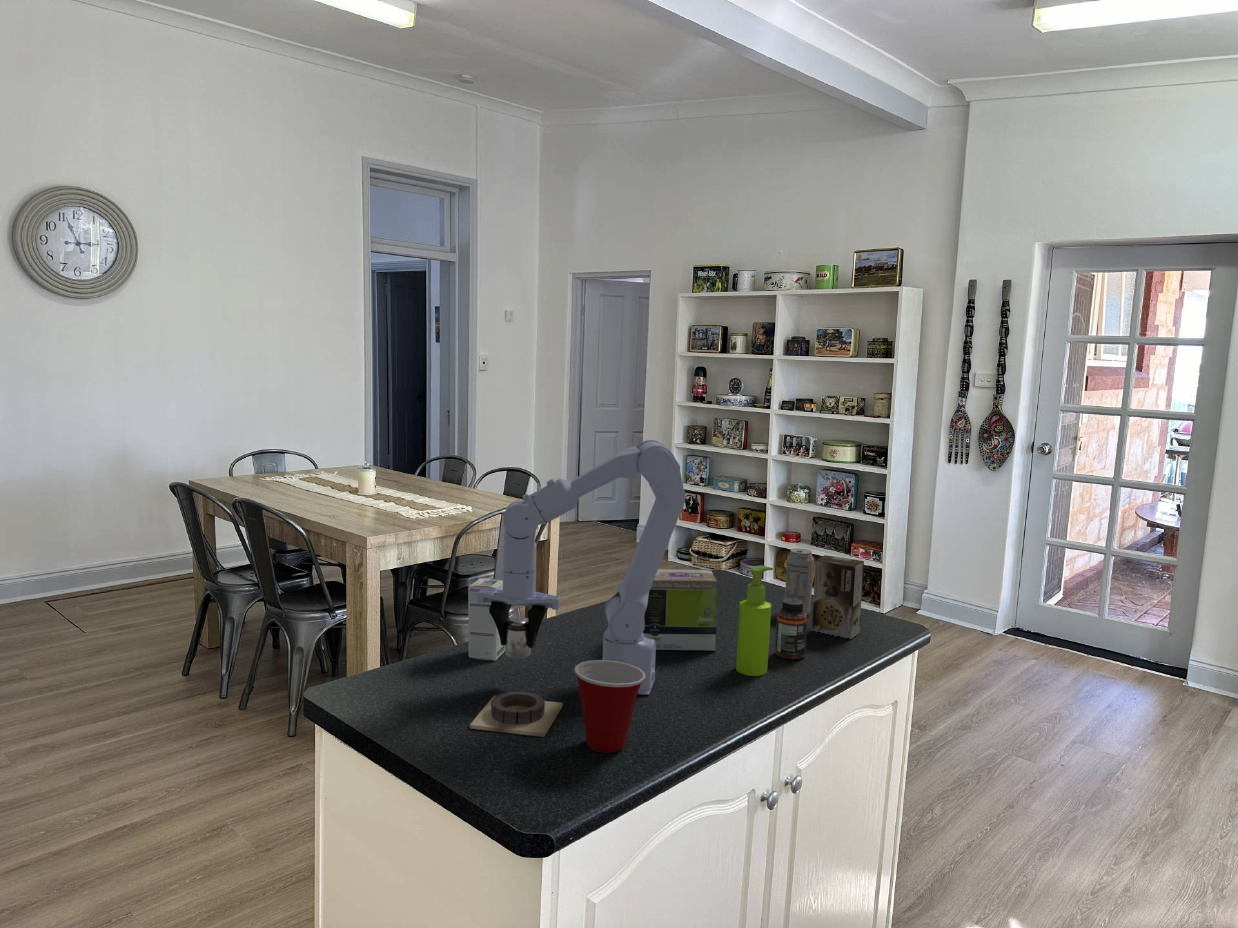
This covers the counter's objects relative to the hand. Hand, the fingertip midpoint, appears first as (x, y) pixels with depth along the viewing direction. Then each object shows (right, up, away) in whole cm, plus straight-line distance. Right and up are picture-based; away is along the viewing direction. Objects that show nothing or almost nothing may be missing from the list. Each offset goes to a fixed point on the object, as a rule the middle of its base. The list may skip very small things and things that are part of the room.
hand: (518, 644), depth 155 cm
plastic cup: (+16, -11, -21) cm, 29 cm away
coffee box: (+65, -5, +37) cm, 75 cm away
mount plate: (+1, -9, -12) cm, 15 cm away
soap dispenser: (+43, -8, +13) cm, 46 cm away
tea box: (+30, -5, +26) cm, 40 cm away
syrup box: (-8, -5, +15) cm, 18 cm away
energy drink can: (+59, -3, +49) cm, 77 cm away
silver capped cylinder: (0, -2, 0) cm, 2 cm away
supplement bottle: (+52, -7, +21) cm, 57 cm away
